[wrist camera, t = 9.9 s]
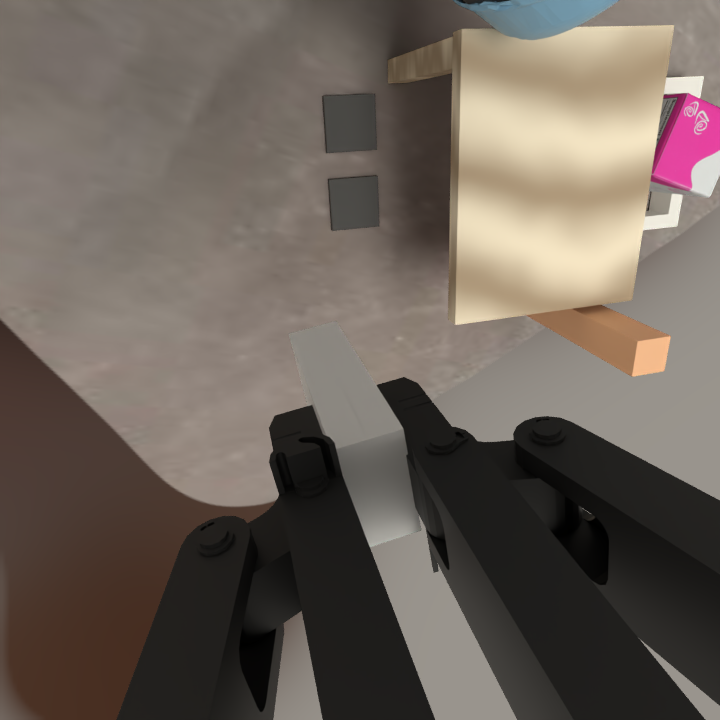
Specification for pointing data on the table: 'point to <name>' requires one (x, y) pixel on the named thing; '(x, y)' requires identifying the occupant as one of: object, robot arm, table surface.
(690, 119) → the supplement box
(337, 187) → the plate
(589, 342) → the sled
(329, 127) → the plate
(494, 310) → the small wooden stool
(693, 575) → the robot arm
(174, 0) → the table surface
